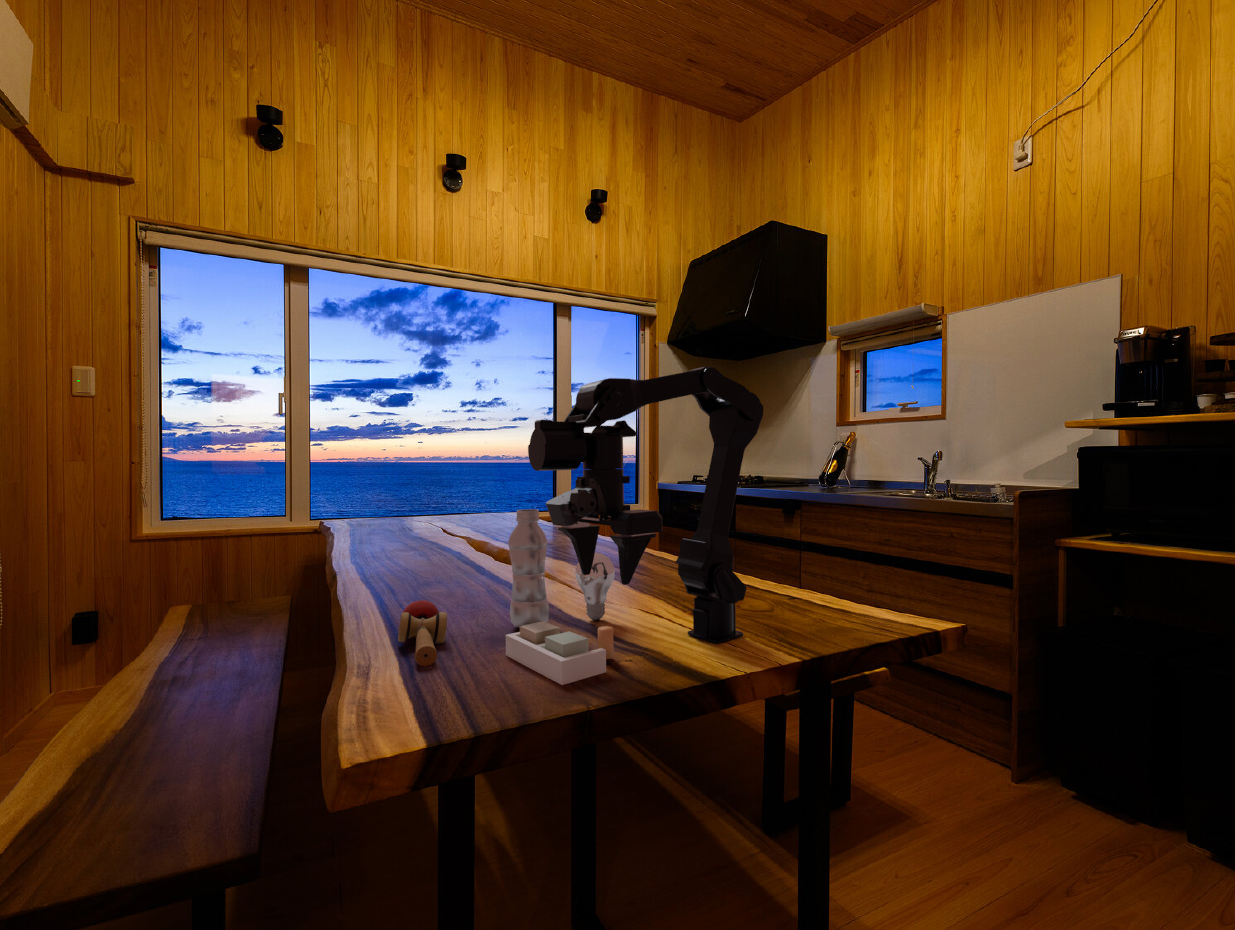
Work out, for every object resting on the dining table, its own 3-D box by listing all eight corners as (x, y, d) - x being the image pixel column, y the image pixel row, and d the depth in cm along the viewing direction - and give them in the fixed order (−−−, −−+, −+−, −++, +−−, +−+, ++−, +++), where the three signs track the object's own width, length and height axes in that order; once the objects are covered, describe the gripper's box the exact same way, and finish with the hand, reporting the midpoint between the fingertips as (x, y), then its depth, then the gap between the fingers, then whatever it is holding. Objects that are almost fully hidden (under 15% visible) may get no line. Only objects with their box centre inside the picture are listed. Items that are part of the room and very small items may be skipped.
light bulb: (592, 613, 109) (591, 548, 109) (623, 618, 105) (622, 551, 105) (567, 622, 104) (566, 553, 104) (599, 628, 100) (598, 557, 99)
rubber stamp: (602, 654, 86) (602, 623, 86) (621, 662, 83) (621, 630, 83) (545, 669, 80) (544, 636, 80) (563, 679, 77) (563, 644, 77)
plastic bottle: (542, 633, 97) (540, 511, 97) (503, 631, 98) (501, 511, 98) (554, 622, 103) (552, 508, 103) (517, 621, 105) (516, 508, 104)
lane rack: (546, 645, 91) (546, 625, 91) (606, 672, 79) (605, 649, 79) (505, 655, 86) (505, 634, 86) (561, 685, 75) (561, 661, 75)
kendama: (460, 670, 85) (447, 621, 101) (452, 629, 83) (440, 587, 100) (404, 688, 82) (399, 635, 98) (394, 646, 81) (391, 600, 97)
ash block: (543, 651, 88) (543, 621, 88) (560, 658, 85) (559, 627, 85) (520, 657, 86) (519, 626, 86) (536, 665, 82) (535, 632, 82)
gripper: (520, 470, 86) (522, 577, 86) (596, 471, 71) (598, 600, 72) (583, 468, 93) (585, 567, 93) (664, 468, 78) (666, 586, 78)
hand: (605, 579), depth 84 cm, fingers open, 9 cm apart
